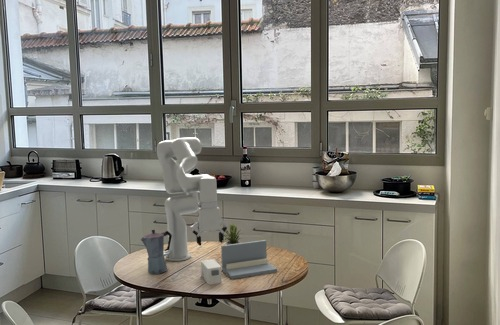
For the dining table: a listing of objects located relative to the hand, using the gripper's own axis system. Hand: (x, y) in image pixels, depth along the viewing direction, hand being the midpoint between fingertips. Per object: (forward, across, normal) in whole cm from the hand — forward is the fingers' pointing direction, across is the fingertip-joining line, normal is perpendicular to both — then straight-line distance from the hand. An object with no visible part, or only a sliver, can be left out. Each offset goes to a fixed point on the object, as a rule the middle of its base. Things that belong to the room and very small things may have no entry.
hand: (210, 243), depth 207 cm
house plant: (+16, +20, +32) cm, 41 cm away
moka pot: (+16, -20, +21) cm, 33 cm away
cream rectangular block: (+16, 0, 0) cm, 16 cm away
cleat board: (+16, +19, +4) cm, 25 cm away
